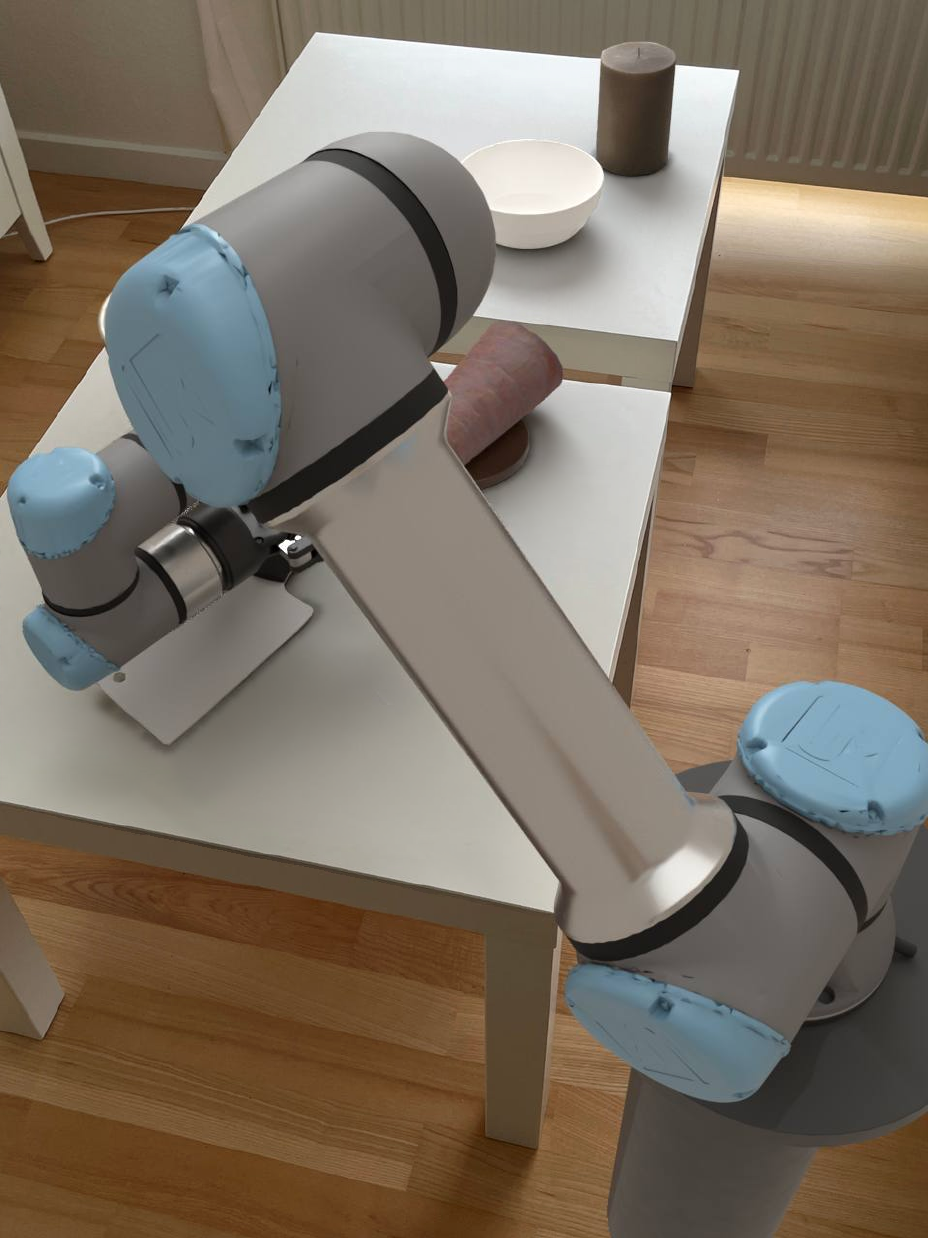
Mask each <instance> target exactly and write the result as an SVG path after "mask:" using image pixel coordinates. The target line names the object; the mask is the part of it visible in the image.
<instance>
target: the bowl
mask: <svg viewBox="0 0 928 1238" xmlns="http://www.w3.org/2000/svg"><path fill="white" fill-rule="evenodd" d="M460 163H461V164H462V165H463V166H464V167H465V168H466V169H467V170H468V171H469V172H470V174H471V175H472V176H473V177H474V179H475V181H476V182H477V184H478V185H479V187H480V188H481V190H482V192H483V194H484V196H485V198H486V201H487V203H488V206H489V208H490V211H491V214H492V219H493V223H494V228H495V234H496V245H497V244H498V245H500V246H504V247H507V248H512V249H520V250H521V249H522V250H530V249H532V250H533V249H534V250H535V249H544V248H548V247H552V246H556V245H559V244H562V243H564V242H566V241H568V240H569V239H571V238H572V237H573V236H574V235H576V234H577V233H578V232H579V231H580V230H581V229H582V228H583V227H584V226H585V225H586V223H588V221H589V219H590V216H591V215H592V214H593V213H594V211H595V210H596V209H597V207H598V204H599V201H600V198H601V193H602V190H603V187H604V182H605V175H604V170H603V167H602V166H600V164H599V163H598V162H597V159H596V157H594V156H592V155H591V154H589V153H588V152H587V151H584V150H582V149H580V148H579V147H576V146H573V145H570V144H567V143H563V142H559V141H553V140H545V139H514V140H506V141H502V142H501V141H500V142H497V143H494V144H493V143H492V144H490V145H486V146H484V147H482V148H479V149H478V150H475V151H473V152H471V153H470V154H469V155H467V156H466V157H464V158H463V159H462V160H461V161H460Z"/></svg>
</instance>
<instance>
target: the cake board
mask: <svg viewBox="0 0 928 1238" xmlns="http://www.w3.org/2000/svg"><path fill="white" fill-rule="evenodd" d="M529 449H530V433H529V429H528V426H527V424H526V423H525V421H524V419H523V417H522V418H521V419H520V420H519V421H518V422H517V423H515V424H514V425H513V426H512V427H511V428H509V429H508V430H507V431H506V432H505V433H504V434H502V435H501V436H500V437H498V438H497V439H496V440H495V441H494V442H493V443H491V444H490V445H489V446H487V447H486V448H485V449H484V450H483V451H481V452H480V453H479V454H478V455H477V456H475V457H473V458H472V459H471V460H470V461H469V462H468V463H467V464H465V465H464V467H465V468H466V470H467V471H468V473H469V474H470V476H471V477H472V478H473V480H474V481H475V483H476V484H477V486H478V487H479V489H480V490H483V489H486V488H490V487H493V486H495V485H498V484H500V483H502V482H504V481H505V480H507V479H509V478H510V477H512V476H513V475H515V474H516V472H518V471H519V470H520V468H522V466H523V464H524V463H525V461H526V459H527V457H528V455H529Z"/></svg>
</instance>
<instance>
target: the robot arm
mask: <svg viewBox="0 0 928 1238" xmlns="http://www.w3.org/2000/svg"><path fill="white" fill-rule="evenodd" d="M496 256H497V243H496V234H495V228H494V223H493V219H492V214H491V211H490V208H489V206H488V203H487V201H486V198H485V196H484V194H483V192H482V190H481V188H480V187H479V185H478V184H477V182H476V181H475V179H474V177H473V176H472V175H471V174H470V172H469V171H468V170H467V169H466V168H465V167H464V166H463V165H462V164H461V161H459V159H458V158H457V157H455V156H453V155H452V154H451V153H450V152H449V151H447V150H446V149H444V148H443V147H442V146H439V145H437V144H435V143H433V142H431V141H429V140H426V139H424V138H421V137H418V136H415V135H412V134H409V133H403V132H397V131H368V132H364V133H359V134H354V135H352V136H351V135H350V136H348V137H344V138H341V139H338V140H336V141H333V142H330V143H329V144H327V145H325V146H323V147H321V148H320V149H318V150H316V151H315V152H313V153H311V154H310V155H308V156H307V157H306V158H304V160H302V161H300V162H299V163H298V164H295V165H293V166H292V167H290V168H288V169H287V170H284V171H283V172H281V173H279V174H277V175H276V176H273V177H272V178H270V179H268V180H266V181H265V182H263V183H261V184H259V185H257V186H255V187H254V188H252V189H250V190H249V191H246V192H245V193H243V194H241V195H239V196H238V197H236V198H234V199H232V200H230V201H229V202H227V203H225V204H223V205H222V206H219V207H218V208H216V209H215V210H213V211H211V212H209V213H207V214H205V215H203V216H202V217H200V218H199V219H197V220H195V221H193V222H192V223H189V224H188V225H187V224H186V225H185V226H183V227H182V228H180V230H178V231H177V232H176V233H174V234H172V235H171V234H170V235H169V238H168V239H167V240H165V241H164V242H162V243H161V244H160V245H158V246H157V247H156V248H155V249H153V250H151V251H150V252H149V253H148V254H146V255H145V256H144V257H142V258H141V259H139V260H138V261H137V262H135V263H134V264H133V265H131V267H129V268H128V269H127V270H126V271H125V272H124V273H123V274H122V275H121V276H120V278H118V280H117V282H116V284H115V285H114V287H113V289H112V291H111V292H112V294H111V296H110V299H109V302H108V306H107V311H106V318H105V341H106V346H107V351H108V354H107V356H109V357H107V358H108V360H107V362H108V363H107V364H108V367H109V371H110V375H111V378H112V381H113V384H114V389H115V391H116V392H117V393H116V394H117V396H118V398H119V401H120V403H121V405H122V408H123V411H124V412H125V415H126V416H127V418H128V421H129V423H130V425H131V427H132V428H133V429H131V430H129V431H128V432H127V433H126V434H123V435H121V436H120V437H118V438H117V439H115V440H113V441H112V442H110V443H109V444H108V445H106V446H105V447H103V448H102V449H100V450H99V451H97V452H96V453H95V452H93V451H91V450H88V449H86V448H82V447H76V446H60V447H54V448H53V449H52V450H51V452H47V453H41V452H38V453H36V454H33V455H31V456H29V457H28V458H27V459H25V460H24V461H23V462H21V463H20V464H19V465H18V466H17V468H16V469H15V470H14V471H13V472H12V475H11V476H10V478H9V480H8V483H7V487H6V499H7V503H8V507H9V512H10V516H11V520H12V524H13V526H14V529H15V534H16V537H17V538H18V541H19V544H20V546H21V548H22V549H23V551H24V553H25V555H26V557H27V560H28V562H29V564H30V566H31V568H32V570H33V573H34V575H35V577H36V580H37V582H38V584H39V587H40V589H41V595H42V599H43V602H44V603H43V604H42V603H41V604H38V605H36V608H35V609H34V610H33V611H32V612H30V613H29V614H28V615H27V616H25V617H24V618H23V621H22V624H21V625H22V626H21V627H22V635H23V637H24V640H25V642H26V645H27V646H28V647H29V649H30V651H31V653H32V654H33V656H34V657H35V658H36V660H37V661H38V663H39V664H40V665H41V667H42V668H43V670H44V671H46V673H47V674H48V675H49V676H50V677H51V678H52V679H53V680H54V681H55V682H56V683H57V684H59V685H60V686H61V687H63V688H65V689H66V690H69V691H72V692H81V691H84V690H87V689H88V688H90V687H92V686H93V685H95V684H97V682H98V681H100V680H102V679H103V678H105V677H107V676H108V675H110V674H112V673H113V672H117V671H119V670H120V669H121V668H120V667H122V666H123V665H125V664H126V663H128V662H129V661H130V660H132V659H133V658H135V657H136V656H137V655H139V654H140V653H142V652H143V651H144V650H146V649H147V648H149V647H150V646H151V645H153V644H154V643H156V642H157V641H158V640H160V639H161V638H163V637H164V636H165V635H167V634H168V633H170V632H172V631H173V630H175V629H177V628H178V627H180V626H181V625H183V624H185V623H186V622H188V621H189V620H191V619H192V618H193V617H195V616H196V615H198V614H199V613H200V612H202V611H203V610H205V609H206V608H207V607H209V606H210V605H211V604H212V603H214V602H215V601H216V600H218V599H219V598H220V597H221V596H223V592H228V591H230V590H232V589H233V588H235V587H236V586H237V585H239V584H240V583H242V582H243V581H245V580H246V579H247V578H249V577H250V576H252V575H253V574H255V573H256V572H257V571H258V569H259V568H260V566H261V565H262V563H263V562H264V561H265V559H267V558H268V557H270V556H273V555H277V554H281V555H282V556H283V557H284V558H285V559H286V560H287V561H288V562H289V565H290V570H291V572H292V574H301V573H302V572H304V571H306V570H307V569H310V568H311V567H313V566H314V565H316V564H319V563H322V562H325V563H326V565H327V567H328V568H329V569H330V570H331V572H332V573H333V575H334V576H335V577H336V579H337V580H338V581H339V583H340V584H341V586H342V587H343V588H344V590H345V591H346V592H347V594H348V595H349V596H350V598H351V599H352V600H353V602H354V603H355V605H356V606H357V607H358V608H359V610H360V611H361V613H362V614H363V615H364V617H365V618H366V620H367V621H368V622H369V624H370V625H371V626H372V628H373V630H374V631H375V632H376V633H377V635H378V636H379V637H380V639H381V641H383V643H384V644H385V646H386V647H387V648H388V649H389V651H390V653H391V654H392V655H393V657H394V658H395V659H396V660H397V662H398V663H399V665H400V666H401V667H402V669H403V670H404V671H405V673H406V674H407V676H408V677H409V678H410V680H411V681H412V683H413V684H414V685H415V687H416V688H417V689H418V690H419V692H420V693H421V695H422V696H423V697H424V698H425V700H426V701H427V703H428V704H429V706H430V708H431V709H432V710H433V711H434V713H435V714H436V715H437V717H438V718H439V719H440V720H441V722H442V723H443V725H444V726H445V728H446V729H447V730H448V731H449V733H450V734H451V736H452V737H453V738H454V740H455V741H456V742H457V745H459V746H460V748H461V749H462V751H463V752H464V754H465V755H466V756H467V758H468V759H469V760H470V761H471V763H472V765H473V766H474V767H475V768H476V770H477V771H478V772H479V774H480V775H481V777H482V778H483V779H484V780H485V782H486V783H487V785H488V786H489V788H490V789H491V791H492V792H493V793H494V794H495V796H496V797H497V798H498V800H499V801H500V803H501V804H502V805H503V807H504V808H505V809H506V811H507V812H508V813H509V815H510V816H511V817H512V819H513V821H514V822H515V823H516V825H517V826H518V827H519V829H520V830H521V831H522V833H523V834H524V835H525V837H526V838H527V840H528V841H529V842H530V844H531V845H532V846H533V847H534V849H535V850H536V852H537V853H538V854H539V856H540V857H541V858H542V860H543V861H544V862H545V864H546V865H547V867H548V869H549V870H550V871H551V872H552V874H553V875H554V876H555V878H556V879H557V880H558V884H557V888H556V891H555V892H556V893H555V897H554V902H553V917H554V919H555V923H556V924H557V926H558V928H559V929H560V930H561V932H562V933H563V934H564V936H565V937H566V938H567V940H568V941H569V943H570V944H571V945H572V947H573V949H574V950H575V952H576V951H577V952H578V954H579V955H580V962H579V963H578V962H577V963H576V964H575V965H574V966H572V967H571V968H570V969H569V970H568V972H567V975H568V977H567V978H566V980H565V983H564V986H563V988H564V1000H565V1003H566V1005H567V1007H568V1010H569V1011H570V1012H571V1014H572V1016H573V1017H574V1018H575V1020H576V1021H577V1022H578V1023H579V1024H580V1026H581V1027H582V1028H584V1030H585V1031H587V1032H588V1034H589V1035H590V1036H591V1037H592V1038H594V1039H595V1040H596V1041H597V1042H598V1043H599V1044H600V1045H602V1046H603V1047H604V1048H605V1049H606V1050H608V1051H609V1052H610V1053H612V1054H613V1055H614V1056H615V1057H617V1058H619V1059H620V1060H622V1062H624V1063H626V1065H629V1066H630V1067H631V1066H632V1067H633V1068H635V1069H637V1070H638V1071H640V1072H642V1073H643V1074H645V1075H647V1076H648V1077H650V1078H652V1079H654V1080H656V1081H657V1082H659V1083H661V1084H663V1085H665V1086H668V1087H670V1088H672V1089H674V1090H677V1091H679V1092H682V1093H684V1094H687V1095H690V1096H692V1097H696V1098H699V1099H703V1100H707V1101H713V1102H736V1101H740V1100H743V1099H746V1098H748V1097H749V1096H751V1095H752V1094H753V1093H755V1092H756V1091H757V1090H758V1089H759V1088H760V1086H761V1085H762V1084H763V1082H764V1081H765V1080H766V1078H767V1077H768V1076H769V1074H770V1073H771V1072H772V1070H773V1069H774V1068H775V1066H776V1065H777V1064H778V1062H779V1061H780V1059H781V1058H782V1057H785V1056H786V1055H787V1054H788V1053H789V1051H790V1047H791V1042H792V1040H793V1039H794V1037H795V1036H796V1034H797V1032H798V1031H799V1029H800V1027H806V1026H816V1025H822V1024H826V1023H830V1022H834V1021H836V1020H839V1019H841V1018H844V1017H846V1016H848V1015H850V1014H851V1013H853V1012H855V1011H856V1010H858V1009H859V1008H860V1007H862V1006H863V1005H864V1004H865V1003H866V1002H867V1001H868V1000H869V999H870V998H871V997H872V996H873V995H874V994H875V992H876V991H877V989H878V988H879V986H880V985H881V983H882V981H883V979H884V977H885V975H886V973H887V971H888V968H889V966H890V963H891V960H892V956H893V952H894V951H896V952H898V953H901V954H903V955H905V956H907V957H909V958H913V957H914V956H915V955H916V953H917V946H916V945H914V944H912V943H910V942H908V941H906V940H903V939H901V938H899V937H897V936H896V926H895V917H894V911H893V906H892V901H891V896H890V894H891V892H892V890H893V887H894V885H895V883H896V881H897V878H898V876H899V874H900V871H901V869H902V867H903V864H904V862H905V860H906V857H907V855H908V853H909V851H910V848H911V846H912V844H913V841H914V839H915V837H916V834H917V832H918V830H919V828H920V825H921V824H923V823H925V821H926V819H928V742H927V740H926V738H925V734H924V732H923V730H922V729H921V727H920V726H919V725H918V724H917V723H916V722H915V721H914V719H913V718H912V717H910V715H908V714H907V713H906V712H905V711H904V710H902V709H901V708H900V707H898V706H897V705H895V704H894V703H893V702H891V701H890V700H888V699H886V698H884V697H882V696H881V695H879V694H876V693H874V692H872V691H870V690H868V689H865V688H863V687H859V686H857V685H852V684H849V683H845V682H839V681H834V680H820V681H818V682H810V681H805V680H803V681H795V682H790V683H786V684H783V685H781V686H778V687H776V688H774V689H772V690H770V691H769V692H767V693H765V694H764V695H762V696H761V697H760V698H759V699H757V701H756V702H755V703H754V704H752V707H751V708H750V709H749V711H748V713H747V715H746V717H745V719H744V720H743V721H742V723H741V724H740V728H739V730H738V732H737V735H736V736H737V738H736V749H737V750H736V752H735V754H734V756H733V758H732V759H731V760H732V762H731V764H730V765H729V767H728V769H727V770H726V772H725V773H724V774H723V776H722V777H721V778H720V779H719V781H718V782H717V783H716V785H715V786H714V787H713V789H712V790H711V791H710V793H709V794H704V793H695V792H686V791H685V790H684V788H683V787H682V785H681V784H680V782H679V781H678V779H677V778H676V776H675V775H674V774H675V773H674V772H673V770H672V769H671V767H670V766H669V765H668V763H667V761H666V760H665V758H664V757H663V756H662V754H661V753H660V751H659V750H658V748H657V747H656V745H655V744H654V742H653V741H652V740H651V738H650V737H649V735H648V733H647V732H646V730H645V729H644V728H643V726H642V725H641V723H640V722H639V720H638V719H637V718H636V716H635V715H634V713H633V712H632V710H631V708H630V707H629V706H628V704H627V703H626V701H625V700H624V699H623V697H622V696H621V694H620V693H619V691H618V690H617V688H616V686H615V685H614V684H613V682H612V681H611V679H610V678H609V676H608V675H607V673H606V672H605V671H604V669H603V667H602V666H601V664H600V663H599V662H598V660H597V659H596V657H595V656H594V655H593V653H592V652H591V650H590V649H589V647H588V645H587V644H586V643H585V642H584V640H583V638H582V637H581V635H580V634H579V632H578V631H577V630H576V628H575V626H574V624H572V622H571V620H570V619H569V618H568V616H567V615H566V614H565V612H564V611H563V609H562V608H561V606H560V604H558V602H557V600H556V598H555V597H554V596H553V594H552V592H551V591H550V590H549V588H548V587H547V585H546V584H545V583H544V581H543V580H542V578H541V576H540V574H539V573H538V572H537V571H536V569H535V568H534V567H533V565H532V564H531V562H530V561H529V559H528V558H527V556H526V554H525V553H524V551H522V549H521V548H520V546H519V544H518V543H517V541H516V540H515V539H514V537H513V536H512V534H511V533H510V531H509V530H508V527H506V525H505V524H504V523H503V521H502V519H501V518H500V516H499V515H498V514H497V512H496V510H495V509H494V508H493V507H492V505H491V503H490V502H489V501H488V499H487V497H486V496H485V495H484V493H483V492H482V489H479V487H478V486H477V484H476V483H475V481H474V480H473V478H472V477H471V476H470V474H469V473H468V471H467V470H466V468H465V467H464V465H463V464H462V462H461V461H460V459H459V458H458V456H457V455H456V453H455V452H454V451H453V449H452V448H451V446H450V445H449V443H448V442H447V433H446V429H447V423H448V417H449V412H450V406H451V400H452V395H451V393H450V391H449V389H448V388H447V386H446V385H445V383H444V382H443V381H444V380H443V379H442V377H441V376H440V374H439V372H438V371H437V370H436V368H435V367H434V365H433V363H432V362H431V361H430V358H431V357H432V356H433V355H434V354H435V353H437V352H438V351H439V350H440V349H441V348H442V347H444V345H446V344H448V342H450V341H451V340H452V339H453V338H454V337H455V336H456V335H457V334H458V333H459V332H461V330H462V329H463V328H464V327H465V325H467V323H468V322H469V321H470V320H471V319H472V318H473V316H474V315H475V313H476V311H477V310H478V309H479V307H480V305H481V304H482V302H483V300H484V298H485V296H486V294H487V292H488V290H489V287H490V285H491V281H492V279H493V275H494V270H495V262H496ZM107 351H106V352H107ZM196 503H198V504H197V505H195V506H194V507H193V508H191V509H190V510H188V509H189V508H190V507H192V506H193V505H194V504H196ZM186 510H188V511H186ZM185 511H186V512H185ZM184 512H185V513H184ZM176 518H177V519H176ZM175 519H176V521H175V523H173V521H174V520H175ZM171 521H172V523H170V522H171Z"/></svg>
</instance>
